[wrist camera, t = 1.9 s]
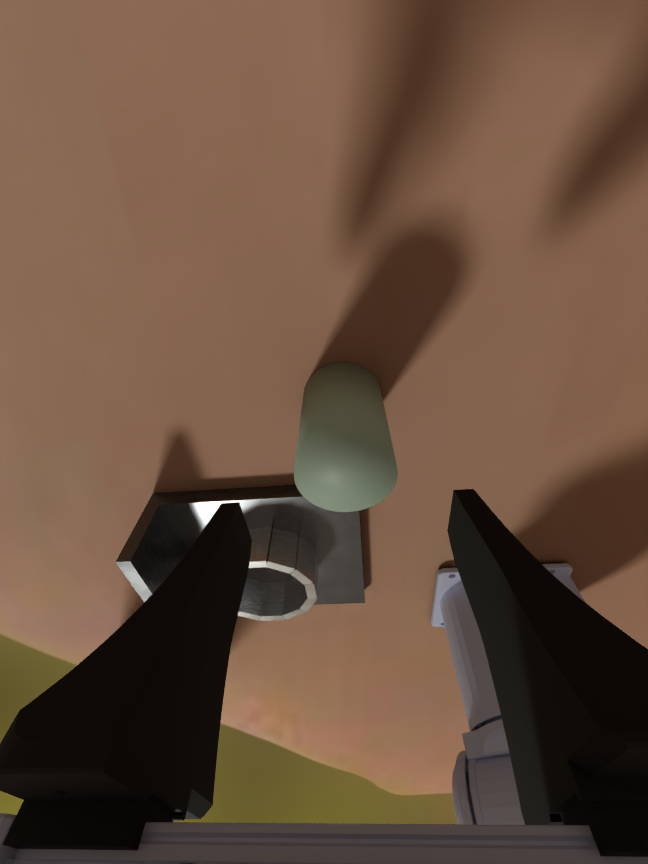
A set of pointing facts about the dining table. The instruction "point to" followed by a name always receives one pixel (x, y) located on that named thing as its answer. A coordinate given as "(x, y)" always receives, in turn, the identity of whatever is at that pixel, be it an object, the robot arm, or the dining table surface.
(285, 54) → the dining table surface
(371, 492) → the grey-green rounded cylinder
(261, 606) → the cup bracket
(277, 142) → the dining table surface
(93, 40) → the dining table surface
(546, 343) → the dining table surface
